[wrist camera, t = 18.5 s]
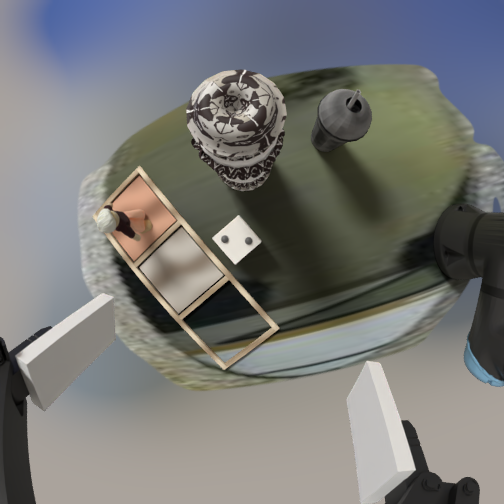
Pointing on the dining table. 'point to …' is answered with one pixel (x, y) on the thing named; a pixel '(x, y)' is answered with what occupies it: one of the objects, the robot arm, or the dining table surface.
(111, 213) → the grandmother figurine
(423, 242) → the dining table surface
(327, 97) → the beverage cup
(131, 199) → the wooden flat rectangular frame
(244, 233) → the ivory die
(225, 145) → the decorative candle
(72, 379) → the robot arm
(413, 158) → the dining table surface
